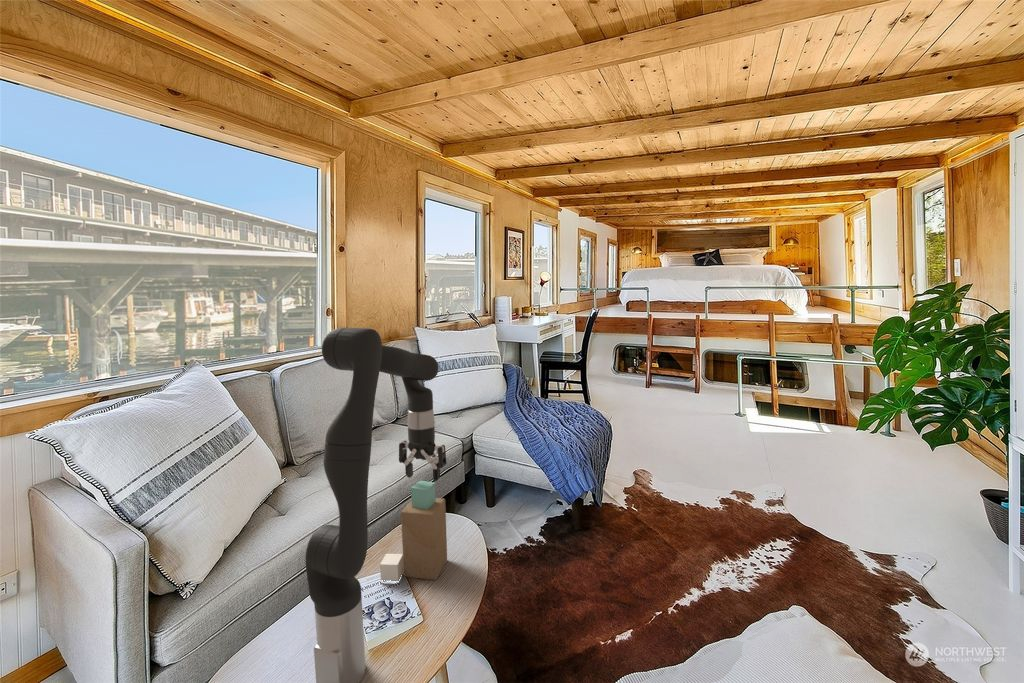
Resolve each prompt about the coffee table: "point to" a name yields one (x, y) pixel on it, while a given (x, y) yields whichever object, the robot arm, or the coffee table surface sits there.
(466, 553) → the coffee table surface
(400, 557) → the cream block
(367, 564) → the coffee table surface
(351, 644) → the robot arm
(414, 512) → the wooden block
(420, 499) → the teal block
